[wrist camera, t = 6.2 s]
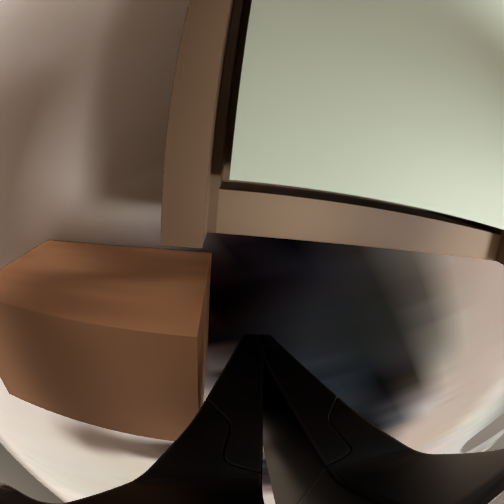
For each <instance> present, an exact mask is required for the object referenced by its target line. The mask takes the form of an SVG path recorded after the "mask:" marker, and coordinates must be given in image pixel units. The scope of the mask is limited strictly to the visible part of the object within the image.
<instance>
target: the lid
mask: <svg viewBox="0 0 504 504" xmlns="http://www.w3.org/2000/svg"><path fill="white" fill-rule="evenodd" d="M229 180H238V181H249V182H259V183H269V184H277V185H286V186H294V187H302V188H309V189H316V190H323V191H330V192H337V193H343V194H349V195H355V196H361V197H367V198H372V199H378V200H383V201H388V202H393V203H398V204H403V205H408V206H413V207H417V208H422V209H426V210H431V211H435V212H439V213H444V214H448V215H452V216H456V217H460V218H464V219H467V220H471V221H475V222H479V223H482V224H486V225H489V226H493V227H496V228H499V229H503V230H504V0H252V3H251V9H250V15H249V22H248V29H247V36H246V43H245V50H244V57H243V64H242V72H241V80H240V88H239V96H238V104H237V113H236V121H235V130H234V139H233V149H232V158H231V168H230V178H229Z"/></svg>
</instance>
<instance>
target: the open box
mask: <svg viewBox="0 0 504 504" xmlns="http://www.w3.org/2000/svg"><path fill="white" fill-rule="evenodd" d="M251 3H252V0H190V3H189V7H188V11H187V15H186V19H185V24H184V28H183V33H182V37H181V42H180V47H179V53H178V58H177V64H176V69H175V75H174V82H173V88H172V95H171V102H170V110H169V118H168V127H167V136H166V147H165V158H164V172H163V188H162V211H161V245H162V246H175V247H188V248H201V249H202V247H203V244H204V241H205V237H206V234H207V232H210V233H223V234H236V235H248V236H261V237H272V238H284V239H295V240H306V241H317V242H328V243H339V244H349V245H359V246H369V247H379V248H388V249H398V250H407V251H416V252H426V253H434V254H443V255H452V256H460V257H469V258H477V259H485V260H493V261H498V262H499V263H501V264H503V265H504V230H503V229H499V228H496V227H493V226H489V225H486V224H482V223H479V222H475V221H471V220H467V219H464V218H460V217H456V216H452V215H448V214H444V213H439V212H435V211H431V210H426V209H422V208H417V207H413V206H408V205H403V204H398V203H393V202H388V201H383V200H378V199H372V198H367V197H361V196H355V195H349V194H343V193H337V192H330V191H323V190H316V189H309V188H302V187H294V186H286V185H277V184H269V183H259V182H249V181H238V180H229V178H230V168H231V158H232V149H233V139H234V130H235V121H236V113H237V104H238V96H239V88H240V80H241V72H242V64H243V57H244V50H245V43H246V36H247V29H248V22H249V15H250V9H251Z"/></svg>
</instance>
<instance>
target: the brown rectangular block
mask: <svg viewBox="0 0 504 504" xmlns="http://www.w3.org/2000/svg"><path fill="white" fill-rule="evenodd" d="M211 256H212V253H208V252H195V251H181V250H168V249H154V248H141V247H128V246H115V245H102V244H89V243H76V242H64V241H51V240H47V241H46V242H44V243H42V244H40V245H39V246H37V247H35V248H34V249H32V250H30V251H28V252H27V253H25V254H23V255H22V256H20V257H18V258H17V259H15V260H14V261H12V262H10V263H9V264H7V265H6V266H4V267H3V268H1V269H0V377H1V379H2V381H3V383H4V385H5V387H6V388H7V390H8V392H9V394H11V395H13V396H16V397H18V398H20V399H22V400H24V401H27V402H29V403H31V404H34V405H36V406H39V407H41V408H44V409H46V410H49V411H51V412H54V413H57V414H60V415H63V416H66V417H69V418H72V419H75V420H78V421H81V422H84V423H88V424H91V425H95V426H99V427H102V428H106V429H110V430H115V431H119V432H123V433H128V434H133V435H138V436H144V437H149V438H156V439H162V440H169V441H176V440H177V438H178V437H179V436H180V435H181V434H182V433H183V431H184V430H185V429H186V428H187V427H188V425H189V424H190V423H191V421H192V420H193V419H194V417H195V416H196V414H197V413H198V411H199V410H200V408H201V406H202V405H203V396H204V383H205V371H206V360H207V349H208V324H209V296H210V275H211Z"/></svg>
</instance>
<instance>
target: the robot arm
mask: <svg viewBox="0 0 504 504" xmlns="http://www.w3.org/2000/svg"><path fill="white" fill-rule="evenodd" d="M263 448H264V452H265V457H266V462H267V467H268V471H269V476H270V481H271V485H272V490H273V494H274V499H275V503H276V504H504V449H500V450H495V451H487V452H477V453H464V454H426V453H422V452H418V451H416V450H413V449H411V448H409V447H408V446H406V445H404V444H403V443H401V442H399V441H398V440H396V439H395V438H393V437H391V436H390V435H388V434H387V433H385V432H384V431H382V430H380V429H379V428H377V427H376V426H374V425H373V424H371V423H370V422H369V421H367V420H366V419H364V418H363V417H362V416H360V415H359V414H358V413H356V412H355V411H354V410H353V409H351V408H350V407H349V406H348V405H347V404H345V403H344V402H343V401H342V400H341V399H340V398H337V396H336V395H335V394H334V393H333V392H331V391H330V390H329V389H328V388H327V387H326V386H325V385H324V384H322V383H321V382H320V381H319V380H318V379H317V378H316V377H315V376H314V375H313V374H311V373H310V372H309V371H308V370H307V369H306V368H305V367H304V366H303V365H302V364H300V363H299V362H298V361H297V360H296V359H295V358H294V357H293V356H292V355H291V354H290V353H289V352H288V351H286V350H285V349H284V348H283V347H282V346H281V345H280V344H279V343H278V342H277V341H276V340H275V339H274V338H273V337H272V336H270V335H256V334H244V335H243V336H242V338H241V340H240V342H239V343H238V345H237V347H236V349H235V350H234V352H233V354H232V356H231V357H230V359H229V361H228V363H227V364H226V366H225V368H224V369H223V371H222V373H221V375H220V376H219V378H218V380H217V381H216V383H215V385H214V387H213V388H212V390H211V392H210V393H209V395H208V397H207V398H206V401H205V402H204V403H203V405H202V406H201V408H200V410H199V411H198V413H197V414H196V416H195V417H194V419H193V420H192V421H191V423H190V424H189V425H188V427H187V428H186V429H185V430H184V431H183V433H182V434H181V435H180V436H179V437H178V438H177V440H176V441H175V442H174V443H173V444H172V445H171V446H170V447H169V448H168V449H167V450H166V452H165V453H164V454H163V455H162V456H161V457H160V458H159V459H158V460H157V461H156V462H155V463H154V464H153V465H152V466H151V467H150V468H149V469H148V470H147V471H146V472H145V473H144V474H142V475H141V476H140V477H138V478H137V479H135V480H133V481H132V482H129V483H127V484H124V485H122V486H119V487H116V488H114V489H111V490H108V491H105V492H102V493H99V494H96V495H93V496H89V497H86V498H83V499H79V500H75V501H72V502H67V503H60V504H264V500H263V494H262V458H263ZM0 504H51V503H45V502H40V501H37V500H35V499H32V498H30V497H28V496H26V495H25V494H23V493H21V492H19V491H18V490H16V489H14V488H13V487H11V486H9V485H7V484H5V483H3V482H0ZM53 504H55V503H53Z"/></svg>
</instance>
